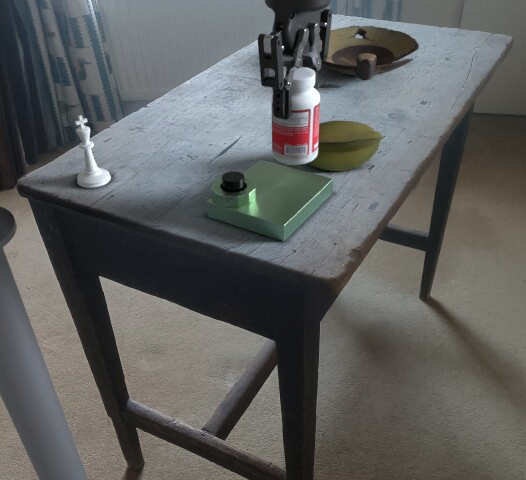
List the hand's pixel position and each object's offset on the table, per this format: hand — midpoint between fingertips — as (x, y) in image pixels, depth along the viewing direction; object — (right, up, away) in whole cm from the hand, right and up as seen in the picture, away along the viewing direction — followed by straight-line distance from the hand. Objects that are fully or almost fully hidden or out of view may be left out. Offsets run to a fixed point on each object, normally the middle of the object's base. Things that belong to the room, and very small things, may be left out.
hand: (295, 107), depth 75 cm
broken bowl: (+15, +23, +48) cm, 56 cm away
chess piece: (-30, -6, +14) cm, 33 cm away
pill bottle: (0, -5, +4) cm, 7 cm away
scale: (-3, -11, +7) cm, 14 cm away
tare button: (-8, -9, +4) cm, 13 cm away
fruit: (+7, -3, +17) cm, 19 cm away
